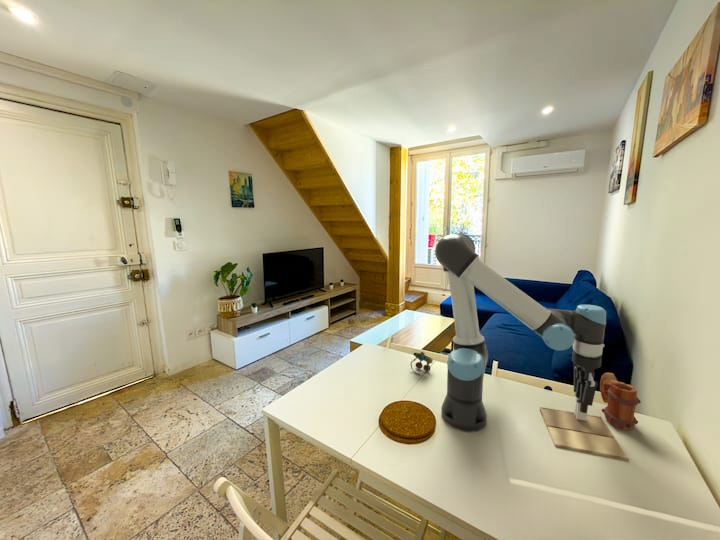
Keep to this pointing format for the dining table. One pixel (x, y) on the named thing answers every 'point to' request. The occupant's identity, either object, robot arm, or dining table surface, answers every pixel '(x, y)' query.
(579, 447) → the laid board
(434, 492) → the dining table surface
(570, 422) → the plank
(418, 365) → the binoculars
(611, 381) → the mug
